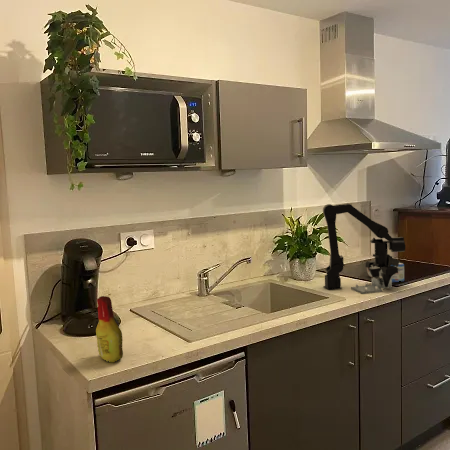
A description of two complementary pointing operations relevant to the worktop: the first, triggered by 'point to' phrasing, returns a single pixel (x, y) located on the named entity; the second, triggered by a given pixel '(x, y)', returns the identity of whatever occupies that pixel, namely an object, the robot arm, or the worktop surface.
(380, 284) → the block
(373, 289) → the tray
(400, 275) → the medicine box
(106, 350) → the bottle
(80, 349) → the worktop surface
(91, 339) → the worktop surface
